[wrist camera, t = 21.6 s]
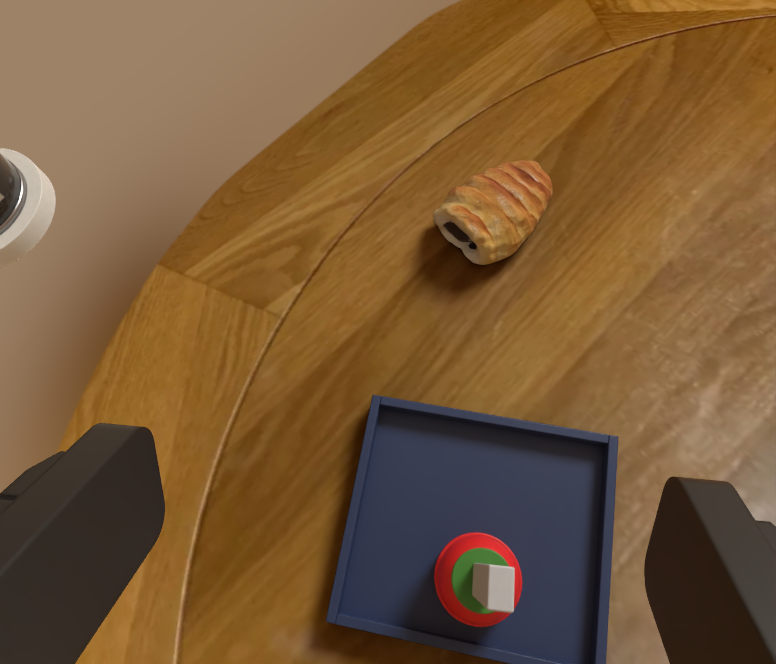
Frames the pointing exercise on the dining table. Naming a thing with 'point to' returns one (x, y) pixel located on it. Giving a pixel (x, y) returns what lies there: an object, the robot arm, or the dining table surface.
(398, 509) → the tray
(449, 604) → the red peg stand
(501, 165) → the pastry
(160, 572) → the dining table surface
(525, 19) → the dining table surface
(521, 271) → the dining table surface
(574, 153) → the dining table surface
